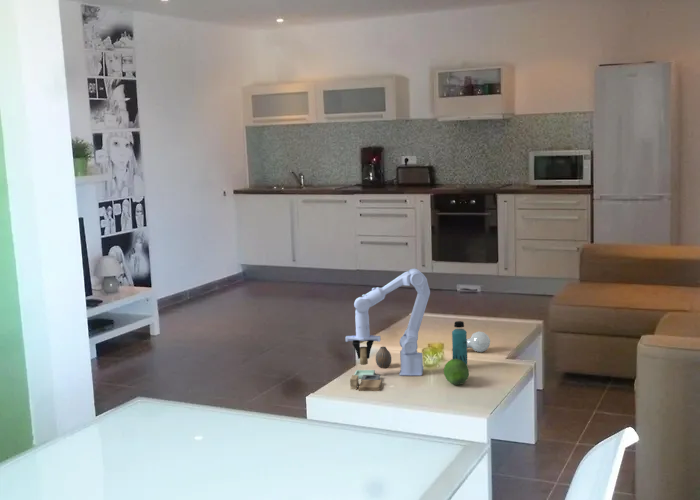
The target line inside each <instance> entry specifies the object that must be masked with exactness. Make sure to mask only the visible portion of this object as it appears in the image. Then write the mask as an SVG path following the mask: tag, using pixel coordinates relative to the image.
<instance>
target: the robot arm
mask: <svg viewBox="0 0 700 500" xmlns="http://www.w3.org/2000/svg"><path fill="white" fill-rule="evenodd" d="M411 285H412V286H413V288H414V289H415V291H416V292H417V294H416V298H415V300H414V305H413V307H412V310H411V314H410V317H409V320H408V324H407V327H406V329H405V331H404V333H403V334H402V336H401V337H400V339H399V345H400V347H401V350H400V351H399V352H400V353H399V355H400V370H399V374H398V375H399V376H418V377H419V376H423V372H424V361H423V359H424V358H423V353H422V352H418V347H419V345H418V339H419V331H420V327H421V324H422V321H423V318H424V315H425V313H426V312H425V311H426V308H427V304H428V301H429V299H430V295H431V289H430V287H429V286H430V285H429V283H428V278H427V277H426V276H425V274H424V273H423V272H421V271H420V269H418V268H410V269H409V270H408V271H405V272H402V274H400V275H398V276H397V277H396V278H394V279H392V280H391V281H390V282H388V283H387V284H386V285H383V286H382V287H379V286H377V287H372V288H371V290H370V291H368V292H367V293H365V294H362V295H361V296H359V297H357V298H356V299H355V300H354V303H353V306H354V308H355V315H354V316H355V319H354V320H355V335H346V336H345V342H346V343H347V342H352V346H353V347H354V350H355V352H356V354H357V359H359V360H360V349H359V348H360V347H361V342H366V347H367V359H370V357H371V356H370V354H371V350H372V346H373V344H374V342H381V340H382V339H381V335H373V334H370V333H371V332H370V315H369V310H370V308H372V307H373V306H375V305H377V304H379V303H380V302H381V301H383V300H385V298H386V296H387V294H390V293H391V292H392V291H395V290H396V289H398V288H400V287H402V286H405V287H406V286H409V287H410V286H411Z"/></svg>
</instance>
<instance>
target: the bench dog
mask: <svg viewBox="0 0 700 500" xmlns="http://www.w3.org/2000/svg"><path fill="white" fill-rule="evenodd" d="M349 383H350V390H357V389H358V388H359V386H360V381H359V379H358V375H354V374H353V375H351V377H350V380H349Z"/></svg>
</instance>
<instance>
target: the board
mask: <svg viewBox="0 0 700 500" xmlns="http://www.w3.org/2000/svg"><path fill="white" fill-rule="evenodd" d="M382 384H383V383H382V379H380V380H362V381H361V380H360V382H359V385H358V392H379V391H380V390H381V387H382Z"/></svg>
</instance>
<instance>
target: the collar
mask: <svg viewBox="0 0 700 500" xmlns="http://www.w3.org/2000/svg"><path fill="white" fill-rule="evenodd" d="M362 380H381V374H375V375H363V377H362V379H360V382H361V381H362Z"/></svg>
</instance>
